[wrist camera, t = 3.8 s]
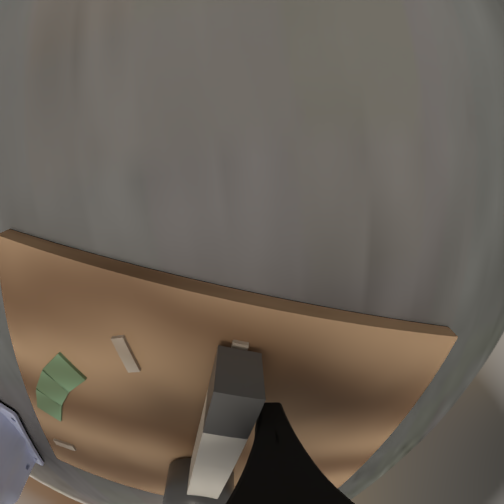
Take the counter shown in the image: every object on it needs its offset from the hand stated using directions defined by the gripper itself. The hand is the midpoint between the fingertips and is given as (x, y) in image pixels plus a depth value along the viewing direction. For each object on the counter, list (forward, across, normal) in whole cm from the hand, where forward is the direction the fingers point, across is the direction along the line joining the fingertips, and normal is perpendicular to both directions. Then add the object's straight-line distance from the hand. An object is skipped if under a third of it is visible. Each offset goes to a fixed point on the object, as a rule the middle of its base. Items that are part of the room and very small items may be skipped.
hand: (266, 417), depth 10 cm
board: (+2, +3, +5) cm, 6 cm away
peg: (+1, +2, +3) cm, 4 cm away
